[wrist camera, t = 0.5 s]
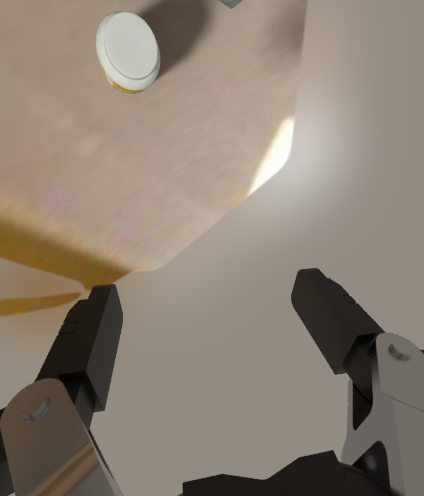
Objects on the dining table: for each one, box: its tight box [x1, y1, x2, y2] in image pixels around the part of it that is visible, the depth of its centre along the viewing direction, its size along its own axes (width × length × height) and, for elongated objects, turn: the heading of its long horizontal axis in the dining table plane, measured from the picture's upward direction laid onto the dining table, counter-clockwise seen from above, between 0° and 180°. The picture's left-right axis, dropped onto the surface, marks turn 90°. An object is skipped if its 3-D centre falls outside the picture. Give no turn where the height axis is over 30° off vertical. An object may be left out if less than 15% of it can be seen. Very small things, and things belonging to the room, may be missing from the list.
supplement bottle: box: [96, 12, 160, 94], centre depth 22 cm, size 5×5×10 cm
